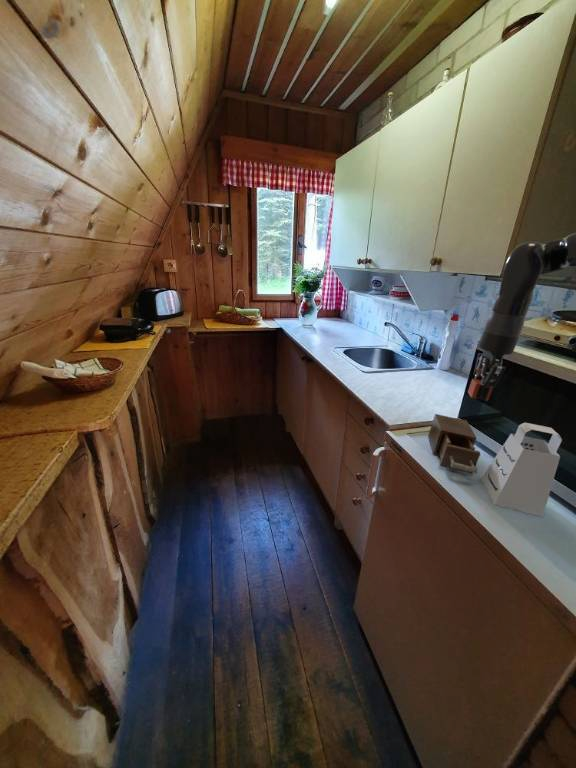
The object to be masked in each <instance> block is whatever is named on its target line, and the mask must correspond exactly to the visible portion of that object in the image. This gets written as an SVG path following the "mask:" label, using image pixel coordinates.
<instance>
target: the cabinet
mask: <svg viewBox="0 0 576 768" xmlns="http://www.w3.org/2000/svg"><path fill="white" fill-rule="evenodd" d="M443 433H446V434H450V435H455V436H459V437H464V438H468V439H470V440H471V442H472V444H473V446H474V445H475V443H476V441H477V436H476V434H475V432H474V431H473V428H472V427H471V425H470V424H469V422H468V420H467V419H461V418H456V417H452V416H447V415H442V414H437V413H435V414H434V416H433V420H432V423H431V425H430V430H429V432H428V436H427V437H428V442H429V444H430V448H431V452H432V455H434V456H438V457H440V455H439V451H438V447H439V444H440V441H441V438H442V435H443ZM474 447H475V446H474Z"/></svg>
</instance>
